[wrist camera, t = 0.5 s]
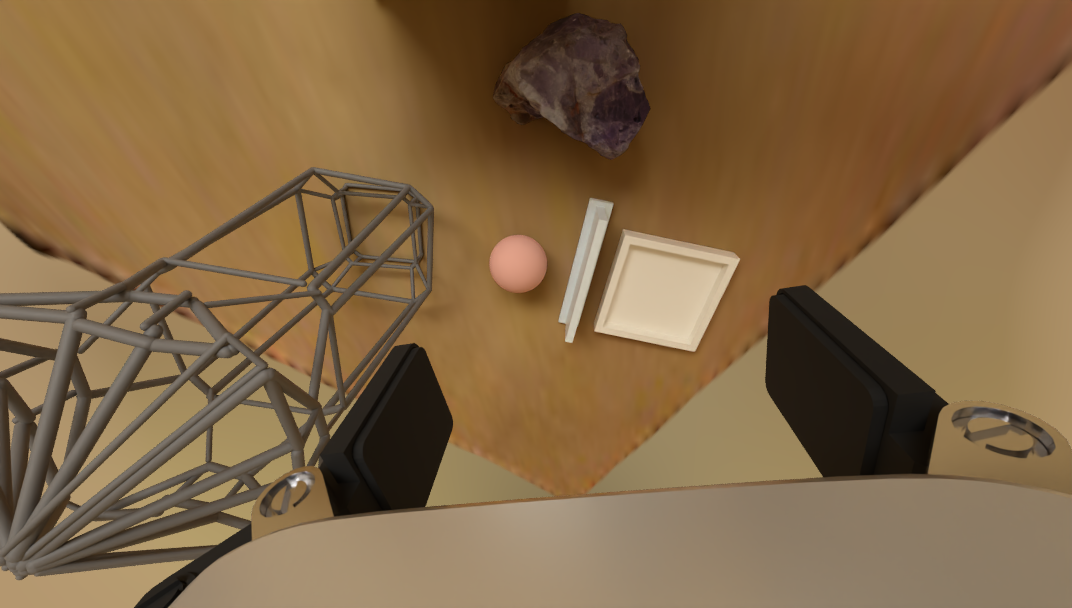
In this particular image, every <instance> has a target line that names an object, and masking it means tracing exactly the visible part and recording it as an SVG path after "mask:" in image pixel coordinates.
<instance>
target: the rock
mask: <svg viewBox="0 0 1072 608" xmlns="http://www.w3.org/2000/svg"><path fill="white" fill-rule="evenodd" d="M639 70H640V65H639V61H638V58H637V57H636V55H635V53H634V50H633V49H632V48H631V47H630V45H629V43H628V41H627V34H626V31H625V29H624V27H623V26H622V25H621V23H620V24H613V23H610V22H609V21H608V20H602V19H593V18H591V17H589V16H587V15H584V14H581V13H576V14H573V15H570V16H568V17H566V18H563V19H560V20H558V21H556V22H554V23H551V24H550V25H549V26H548V27H547V28H546V29H545V30H544V32H543V33H542V34H540V35H539V36H537V37H536V38H535V39H533V40H532V41H531V42H530V43H529V44H528V45H527V46H525V47H523V48H522V49H521V51H520V52H519V54H518V55H517V56H516V57H515V59H514V60H513V61H511V62H509V63H507V64H506V65H505V67H504V69H503V70H502V75H501V76H500V77H499V79H498V81H497V83H496V85H495V88H494V94H493V99H494V100H495V102H496V103H497V104H498V105H500V106H501V107H502V108H504V109H505V110H507V111H508V112H509V113H510V116H511V119H512V120H514V121H515V122H516V123H518V124H521V125H524V124H526V123H528V122H530V121H532V120H534V119H538V118H543V117H545V118H546V119H548V120H549V121H550V122H552V123H554V124H555V125H556V126H557V127H558V128H559V129H561V131H562V132H563V133H565V134H567V135H569V136H570V137H572V138H573V139H576V140H579V141H582V142H584V143H586V144H587V145H588V146H589V147H591V148H593V149H595V150H596V151H597V152H598V153H599V154H600V155H601V156H604V157H606V158H608V159H610V160H611V159H614V158H616V157H618V156H620V155H621V154H623V153H624V152H625V151H626V150H627V149H628V146H629V143H630V142H631V141H632V139H633V138H634V137H635V135H636V134H637V133H638V131H639V130H640V128H641V126H642V125H643V123H644V121H645V119H646V117H647V115H648V113H649V111H650V106H649V103H648V100H647V99H646V96H645V92H644V90H643V86H642V84H641V82H640V80H639V77H638V72H639Z"/></svg>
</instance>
